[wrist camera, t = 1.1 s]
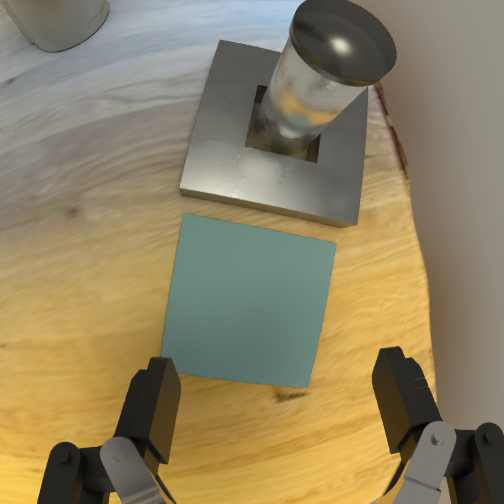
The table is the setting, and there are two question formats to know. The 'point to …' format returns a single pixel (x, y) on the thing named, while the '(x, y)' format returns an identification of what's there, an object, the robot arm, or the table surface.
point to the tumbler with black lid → (320, 73)
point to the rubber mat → (246, 303)
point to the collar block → (267, 163)
